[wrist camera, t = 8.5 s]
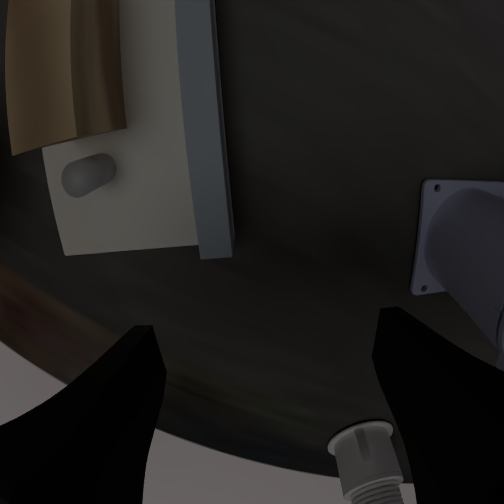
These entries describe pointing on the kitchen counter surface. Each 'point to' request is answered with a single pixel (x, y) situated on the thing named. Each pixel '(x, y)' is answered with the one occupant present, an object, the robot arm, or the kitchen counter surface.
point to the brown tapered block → (62, 71)
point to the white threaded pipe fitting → (367, 464)
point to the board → (153, 144)
